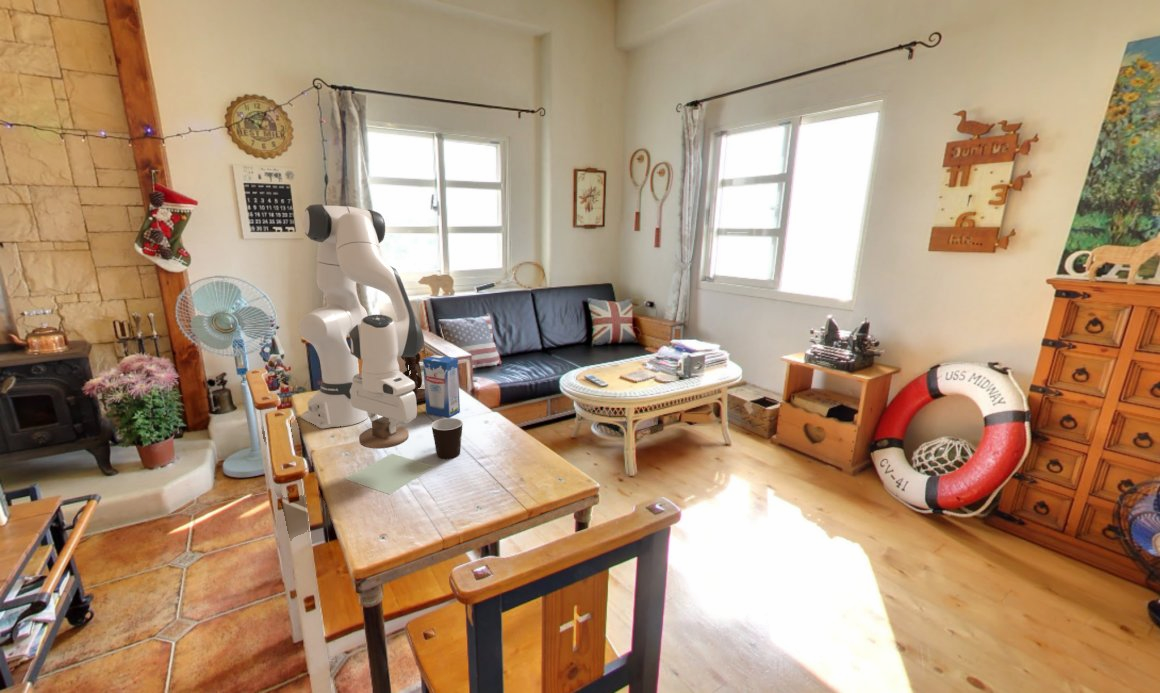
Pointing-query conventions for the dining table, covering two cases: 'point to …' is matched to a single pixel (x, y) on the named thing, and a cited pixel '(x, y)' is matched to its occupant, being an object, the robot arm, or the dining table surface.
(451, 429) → the coffee mug
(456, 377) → the milk carton
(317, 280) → the robot arm
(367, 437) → the lid
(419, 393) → the dark brown tall piece
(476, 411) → the dining table surface
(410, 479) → the mat
